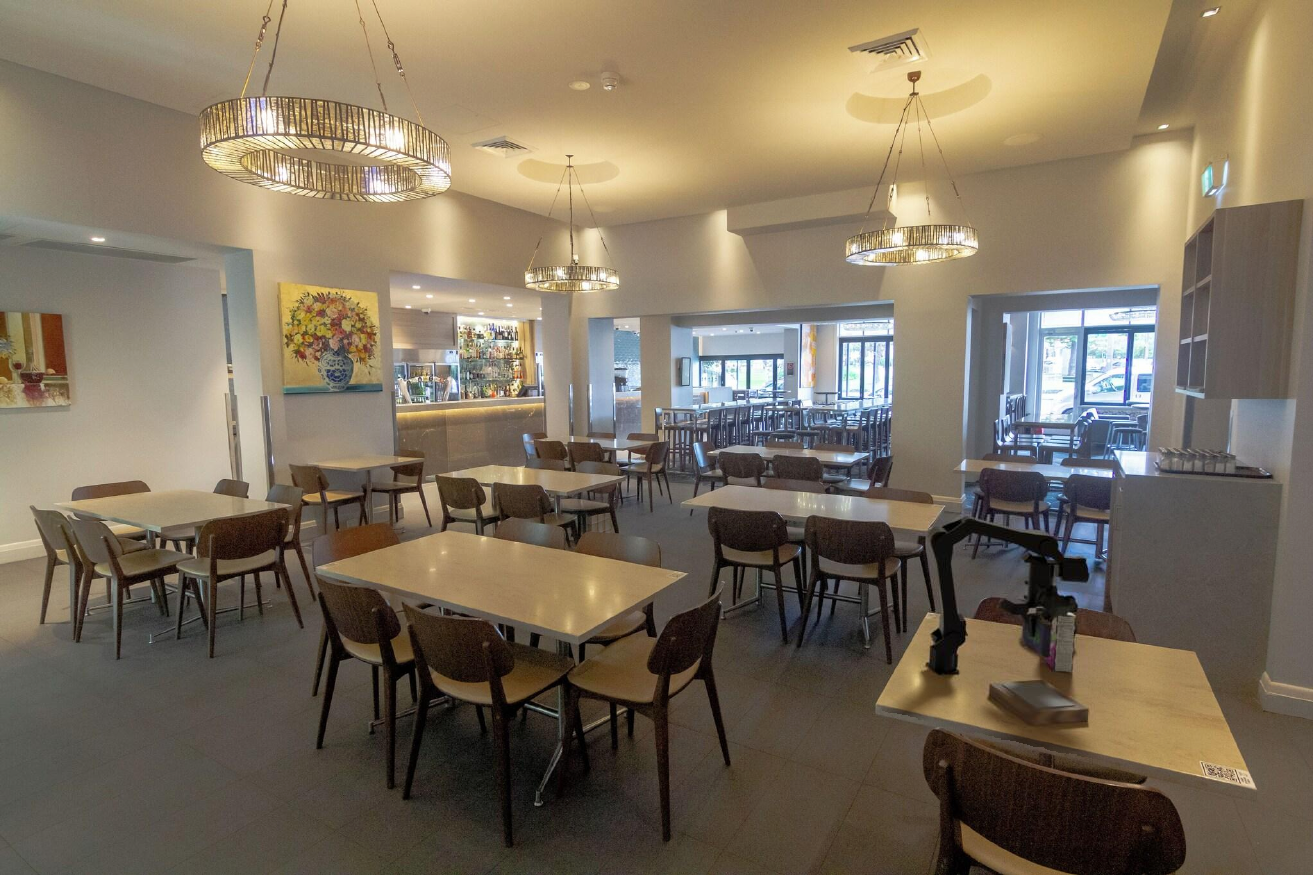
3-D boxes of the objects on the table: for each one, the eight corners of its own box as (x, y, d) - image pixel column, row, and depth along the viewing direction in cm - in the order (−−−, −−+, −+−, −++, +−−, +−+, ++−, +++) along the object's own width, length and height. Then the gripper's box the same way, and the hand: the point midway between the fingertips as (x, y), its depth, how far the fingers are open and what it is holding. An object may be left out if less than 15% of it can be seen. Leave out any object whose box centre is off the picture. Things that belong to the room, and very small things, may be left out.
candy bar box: (1038, 654, 191) (1041, 600, 190) (1057, 656, 190) (1060, 601, 189) (1053, 671, 180) (1057, 614, 179) (1073, 673, 179) (1077, 615, 178)
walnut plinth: (1030, 725, 152) (1031, 711, 152) (988, 694, 167) (989, 681, 167) (1087, 720, 154) (1088, 707, 154) (1041, 690, 169) (1042, 678, 169)
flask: (1018, 642, 179) (1022, 605, 178) (1028, 642, 180) (1031, 604, 178) (1043, 657, 170) (1047, 618, 169) (1053, 657, 170) (1057, 617, 169)
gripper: (1030, 590, 164) (1026, 650, 165) (1096, 587, 166) (1092, 646, 168) (1000, 577, 174) (997, 633, 176) (1063, 574, 177) (1059, 630, 179)
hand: (1037, 636), depth 174 cm, fingers closed on flask, 3 cm apart
